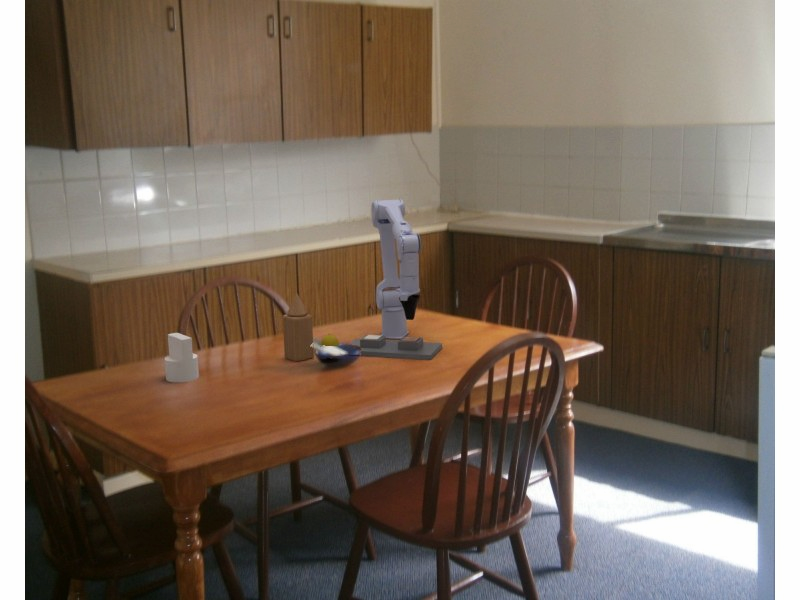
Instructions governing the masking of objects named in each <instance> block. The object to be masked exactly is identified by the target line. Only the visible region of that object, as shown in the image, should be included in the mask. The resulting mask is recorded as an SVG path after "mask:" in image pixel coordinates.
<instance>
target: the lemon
mask: <svg viewBox="0 0 800 600" xmlns="http://www.w3.org/2000/svg"><path fill="white" fill-rule="evenodd" d="M321 345H325V346H339V347H340V341H339V339H338V338H337V337H336V335H333V334H331V333H328V334H326V335H325V336H323V337H322V339H321V342H320V346H321Z"/></svg>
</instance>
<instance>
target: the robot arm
mask: <svg viewBox="0 0 800 600" xmlns="http://www.w3.org/2000/svg"><path fill="white" fill-rule="evenodd" d="M370 209H371V223H372V226H373V227H374V228H375V229H377V230H378V233H379V240H380V250H381V251H380V252H381V261H382V272H383V273H382V275H383V279H382V280H381V281H380V282H379V283H378V284H377V285H376V288H375V303H376V306H377V308H378V309H379V310H381V334H380V335H384V336H386V339H389V340H390V339H391V340H392V339H393V340H400V339H401V338H403V337H407V335H408V334H409V333H410V332H411V331H410V330H407V327H408V326H407V320H409V321H414V320H415V317H416V312H417V311H416V310H417V306H418V303H419V301H420V299H421V295H420V294H419V293H420V292H421V289H420V271H419V270H420V268H419V265H420V263H419V262H420V261H419V259H420V258H419V257H420V256H419V254H421V251H422V241H421V236H420V234H419V233H416V232H414V231H413V228H412V227H411V225H410V223H409V222H408V221H406V220H405V219H404V217H405V213H406V212H405V211H406V207H405V202H404V200H403V199H402V198H399V199H383V200H377V199H375V200H373V201H372V202H371V208H370ZM398 260H399V271H398V262H397V261H398Z"/></svg>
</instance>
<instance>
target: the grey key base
mask: <svg viewBox="0 0 800 600" xmlns="http://www.w3.org/2000/svg"><path fill="white" fill-rule="evenodd" d="M368 335H369V334H366V335H364V336H363V337H361V338H355V339H353V340H352V341H351V342H349V343H348V344H352V345H358V346H360V347H361V348H362V351H361V355H360V356H359V357H374V358H387V359H388V358H389V359H390V358H391V359H405V360H407V359H408V360H427V361H432V359H433V358H434V357H436V355H437V354H438V353H439V352H440V351H441V350H442V349H443V342H432V341H431V342H427V341H426V342H425V341H424V337H421V336H419V337H420V339H419V340H418V341H417V342H407V341H402V339H404V338H405V337H406V336H405V337H403V338H401V339H398V340H394V339H393V340H392V339H391V340H390V339H389V340H388V339H387V338H386V336H384V335H381V334H380V335H379V334H378V335H379V336H382V337H381V338H380V339H379V340H369V339H364V338H365V337H366V336H368ZM441 348H442V349H441Z"/></svg>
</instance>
